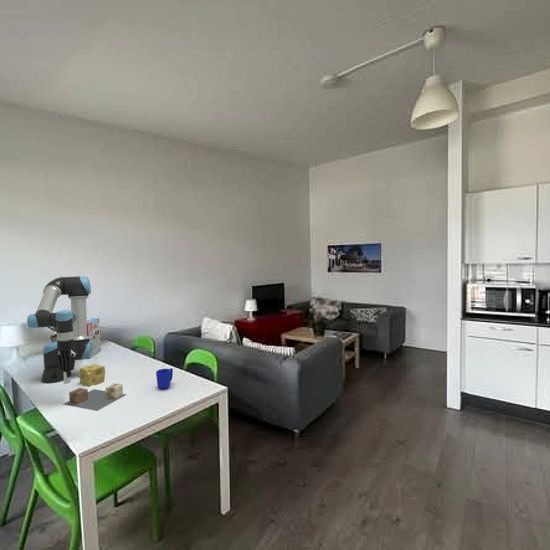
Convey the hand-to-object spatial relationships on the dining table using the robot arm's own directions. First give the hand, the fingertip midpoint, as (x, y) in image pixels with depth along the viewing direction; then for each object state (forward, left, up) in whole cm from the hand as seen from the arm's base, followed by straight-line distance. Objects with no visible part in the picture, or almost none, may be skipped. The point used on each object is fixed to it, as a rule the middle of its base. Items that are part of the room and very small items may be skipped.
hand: (67, 382), depth 176 cm
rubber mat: (+13, +5, -10) cm, 17 cm away
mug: (+38, +32, -10) cm, 51 cm away
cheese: (-9, +23, -10) cm, 27 cm away
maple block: (+20, +11, -10) cm, 25 cm away
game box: (-57, +66, -10) cm, 88 cm away
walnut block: (+7, 0, -9) cm, 12 cm away
